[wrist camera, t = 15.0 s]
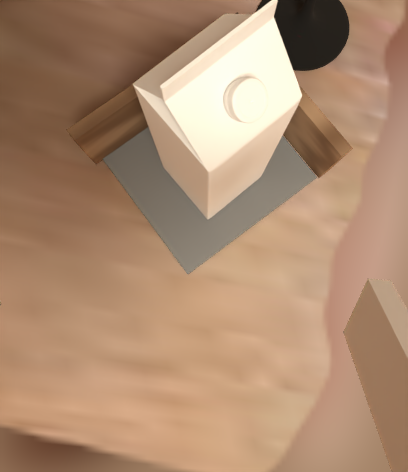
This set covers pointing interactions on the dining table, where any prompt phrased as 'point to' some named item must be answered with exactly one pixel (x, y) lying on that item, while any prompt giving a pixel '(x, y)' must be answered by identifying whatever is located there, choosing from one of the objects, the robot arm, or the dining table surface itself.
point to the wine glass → (311, 31)
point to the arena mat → (186, 212)
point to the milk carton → (221, 106)
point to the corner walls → (133, 122)
